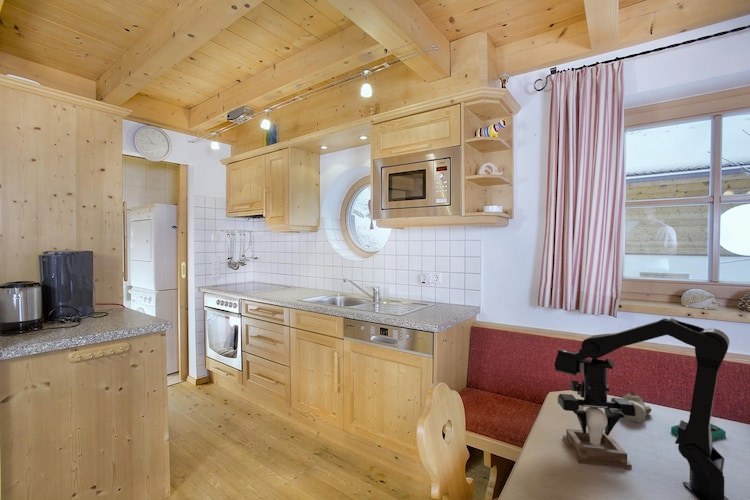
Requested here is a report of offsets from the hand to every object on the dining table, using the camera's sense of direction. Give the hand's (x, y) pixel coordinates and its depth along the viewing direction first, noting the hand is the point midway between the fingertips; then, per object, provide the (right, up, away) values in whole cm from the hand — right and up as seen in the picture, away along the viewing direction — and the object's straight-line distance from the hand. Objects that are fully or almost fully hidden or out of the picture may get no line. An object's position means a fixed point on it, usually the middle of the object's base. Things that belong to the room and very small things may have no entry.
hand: (595, 433), depth 102 cm
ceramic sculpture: (+28, -6, +23) cm, 37 cm away
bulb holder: (0, -5, 0) cm, 5 cm away
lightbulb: (0, -4, 0) cm, 4 cm away
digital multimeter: (+39, -6, +10) cm, 41 cm away
